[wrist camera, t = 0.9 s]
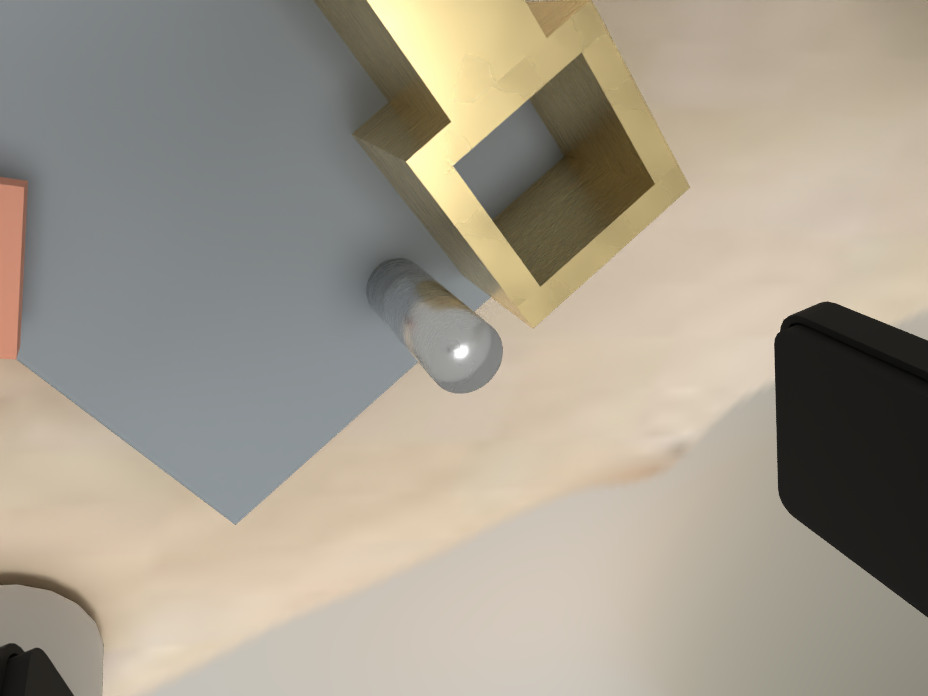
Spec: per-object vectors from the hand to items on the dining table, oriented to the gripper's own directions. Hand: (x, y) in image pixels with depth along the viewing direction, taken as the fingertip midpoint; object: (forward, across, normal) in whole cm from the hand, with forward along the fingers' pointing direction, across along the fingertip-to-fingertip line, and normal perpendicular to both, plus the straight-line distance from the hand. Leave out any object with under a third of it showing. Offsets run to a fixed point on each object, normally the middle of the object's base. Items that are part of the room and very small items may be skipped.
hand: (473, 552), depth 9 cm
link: (+20, -7, -4) cm, 21 cm away
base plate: (+21, -1, -1) cm, 21 cm away
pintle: (+21, -4, +5) cm, 22 cm away
